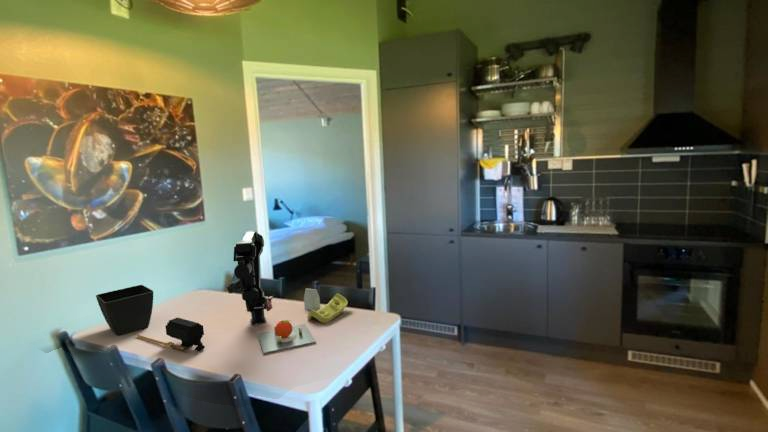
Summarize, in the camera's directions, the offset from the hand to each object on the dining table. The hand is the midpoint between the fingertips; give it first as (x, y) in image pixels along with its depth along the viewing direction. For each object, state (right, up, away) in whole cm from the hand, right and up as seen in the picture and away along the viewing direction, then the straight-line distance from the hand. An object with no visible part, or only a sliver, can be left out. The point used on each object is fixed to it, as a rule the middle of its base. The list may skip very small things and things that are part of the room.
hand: (250, 308), depth 170 cm
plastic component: (+30, -8, +21) cm, 38 cm away
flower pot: (-61, -13, +17) cm, 65 cm away
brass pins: (+17, -11, -2) cm, 20 cm away
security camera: (-23, -14, -5) cm, 28 cm away
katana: (-37, -15, -2) cm, 40 cm away
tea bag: (+21, -7, +31) cm, 38 cm away
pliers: (-5, -8, +40) cm, 41 cm away
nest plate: (+16, -12, -3) cm, 20 cm away
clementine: (+15, -11, -3) cm, 19 cm away
